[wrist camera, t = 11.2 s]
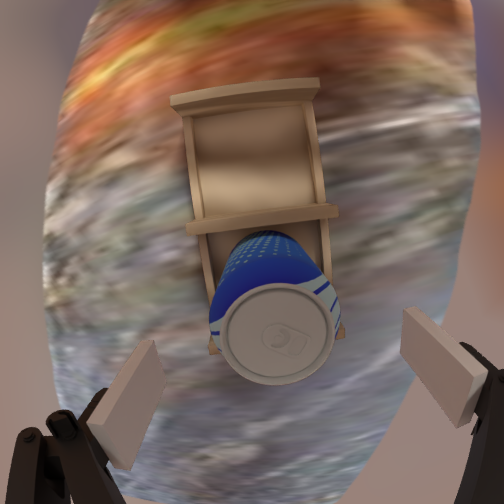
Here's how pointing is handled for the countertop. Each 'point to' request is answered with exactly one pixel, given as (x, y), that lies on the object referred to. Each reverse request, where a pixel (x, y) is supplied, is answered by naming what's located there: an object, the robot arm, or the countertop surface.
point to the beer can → (273, 310)
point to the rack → (255, 170)
